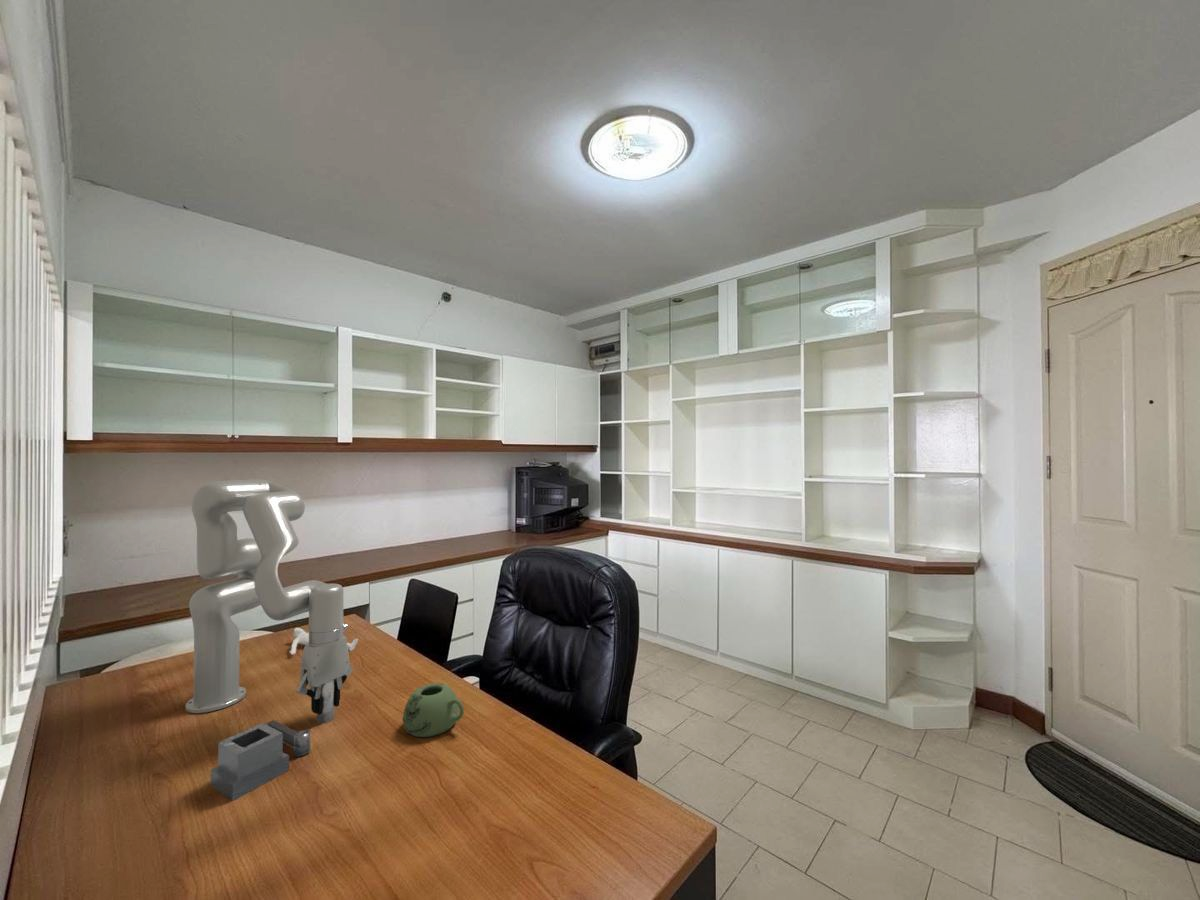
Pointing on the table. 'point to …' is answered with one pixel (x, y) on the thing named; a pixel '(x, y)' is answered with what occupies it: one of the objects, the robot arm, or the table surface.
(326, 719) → the rod
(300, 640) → the figurine
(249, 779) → the block
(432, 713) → the mug
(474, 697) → the table surface
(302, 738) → the lever
